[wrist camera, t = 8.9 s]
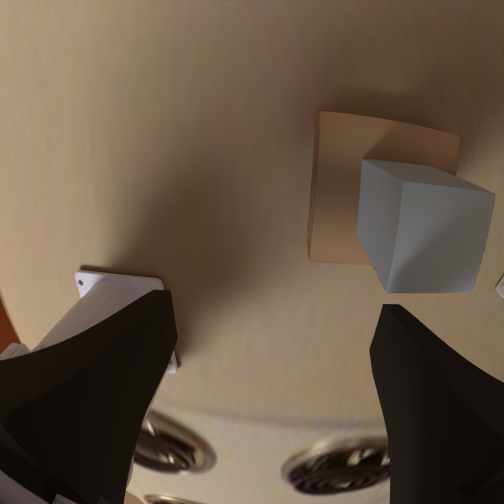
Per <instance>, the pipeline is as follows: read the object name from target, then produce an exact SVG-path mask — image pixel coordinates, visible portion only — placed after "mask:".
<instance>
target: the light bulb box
mask: <svg viewBox="0 0 504 504" xmlns="http://www.w3.org/2000/svg"><path fill="white" fill-rule="evenodd" d="M496 291H497V292H498V293H499V294H500V295H501V296H502V297H503V298H504V275H503V277H502V278H501V280H500V282H499V283H498V285H497V286H496Z"/></svg>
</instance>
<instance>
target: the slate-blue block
mask: <svg viewBox="0 0 504 504" xmlns="http://www.w3.org/2000/svg"><path fill="white" fill-rule="evenodd" d="M494 200H495V194H494V193H492V192H490V191H488V190H486V189H484V188H482V187H479V186H477V185H475V184H473V183H470V182H468V181H466V180H464V179H461V178H459V177H457V176H454V175H452V174H449V173H447V172H444V171H442V170H439V169H437V168H434V167H432V166H425V165H417V164H409V163H401V162H392V161H382V160H371V159H362V166H361V183H360V198H359V210H358V221H357V231H356V234H357V236H358V238H359V240H360V242H361V244H362V246H363V248H364V250H365V251H366V253H367V255H368V257H369V259H370V261H371V263H372V265H373V267H374V269H375V271H376V273H377V275H378V278H379V280H380V282H381V284H382V286H383V288H384V290H385V292H386V293H458V292H472V291H473V288H474V285H475V281H476V278H477V275H478V271H479V268H480V264H481V261H482V257H483V253H484V249H485V245H486V241H487V237H488V232H489V227H490V222H491V217H492V212H493V206H494Z"/></svg>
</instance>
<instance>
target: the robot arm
mask: <svg viewBox="0 0 504 504" xmlns="http://www.w3.org/2000/svg"><path fill="white" fill-rule="evenodd" d="M75 278H76V282H77V285H78V289H79V293H80V296H81V299H80V300H79V301H78V302H77V303H76V304H75V305H74V306H73V307H72V308H71V310H70V311H69V312H68V313H67V314H66V315H65V316H64V317H63V318H62V319H61V320H60V321H59V322H58V323H57V324H56V325H55V327H54V328H53V329H52V330H51V331H50V332H49V333H48V334H47V335H46V336H45V337H44V339H43V340H42V341H41V342H40V343H39V344H38V345H37V346H36V348H34V349H33V350H31V351H30V350H29V349H28V347H27V346H26V345H25V344H23V343H22V344H20V345H19V344H15V343H12V344H11V345H10V346H9V347H8V348H7V349H6V350H5V351H4V352H3V353H2V354H1V355H0V504H124V497H125V491H126V488H127V486H128V484H129V482H130V480H131V476H132V472H133V453H134V450H135V446H136V442H137V439H138V435H139V432H140V429H141V426H142V424H143V422H144V421H145V419H146V417H147V415H148V412H149V410H150V408H151V405H152V403H153V401H154V398H155V396H156V394H157V392H158V389H159V387H160V385H161V382H162V380H163V378H164V376H165V373H166V372H167V373H173V374H174V373H176V372H177V370H178V367H177V362H176V357H175V352H174V347H175V344H176V341H177V331H176V324H175V318H174V311H173V305H172V297H171V291H167V290H164V286H163V282H162V281H161V280H160V279H158V278H151V277H141V276H132V275H122V274H113V273H104V272H95V271H86V270H78V271H77V272H76V273H75ZM81 281H82V282H83V283H82V282H81ZM369 350H370V358H371V366H372V373H373V377H374V381H375V385H376V389H377V393H378V396H379V400H380V404H381V408H382V412H383V416H384V420H385V424H386V430H387V435H388V445H389V457H390V504H504V383H503V382H502V381H500V380H498V379H496V378H494V377H492V376H491V375H489V374H488V373H486V372H484V371H483V370H481V369H480V368H478V367H477V366H475V365H474V364H472V363H471V362H469V361H468V360H467V359H465V358H464V357H462V356H461V355H460V354H459V353H457V352H456V351H455V350H453V349H452V348H451V347H450V346H448V345H447V344H446V343H445V342H444V341H442V340H441V339H440V338H439V337H438V336H436V335H435V334H434V333H433V332H432V331H431V330H429V329H428V328H427V327H426V326H425V325H424V324H423V323H421V322H420V321H419V320H418V319H417V318H416V317H415V316H413V315H412V314H411V313H410V312H409V311H407V310H406V309H405V308H404V307H402V306H401V305H399V304H383V306H382V310H381V313H380V317H379V320H378V324H377V327H376V330H375V334H374V337H373V340H372V343H371V346H370V349H369ZM170 360H171V361H170Z"/></svg>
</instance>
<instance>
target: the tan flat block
mask: <svg viewBox="0 0 504 504" xmlns="http://www.w3.org/2000/svg"><path fill="white" fill-rule="evenodd" d="M459 139H460V136H459V135H456V134H452V133H448V132H444V131H440V130H436V129H432V128H428V127H423V126H419V125H414V124H409V123H404V122H399V121H393V120H388V119H382V118H376V117H369V116H362V115H355V114H347V113H338V112H329V111H318V112H316V113H315V131H314V152H313V170H312V185H311V199H310V212H309V224H308V235H307V249H308V256H309V262H324V263H341V264H359V265H372V263H371V261H370V259H369V257H368V255H367V253H366V251H365V250H364V248H363V246H362V244H361V242H360V240H359V238H358V236H357V234H356V231H357V221H358V210H359V198H360V183H361V166H362V159H371V160H382V161H392V162H401V163H409V164H417V165H425V166H432V167H434V168H437V169H439V170H442V171H444V172H447V173H449V174H452V175H454V176H456V168H457V160H458V150H459Z"/></svg>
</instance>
